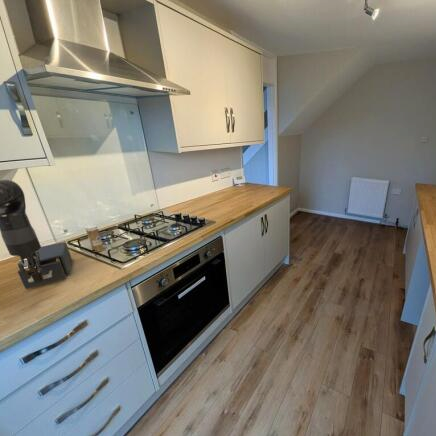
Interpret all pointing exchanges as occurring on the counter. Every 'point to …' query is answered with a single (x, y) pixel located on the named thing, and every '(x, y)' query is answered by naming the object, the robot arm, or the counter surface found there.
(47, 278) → the drawer
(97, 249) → the sprinkles bottle
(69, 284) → the counter surface
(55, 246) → the cabinet
